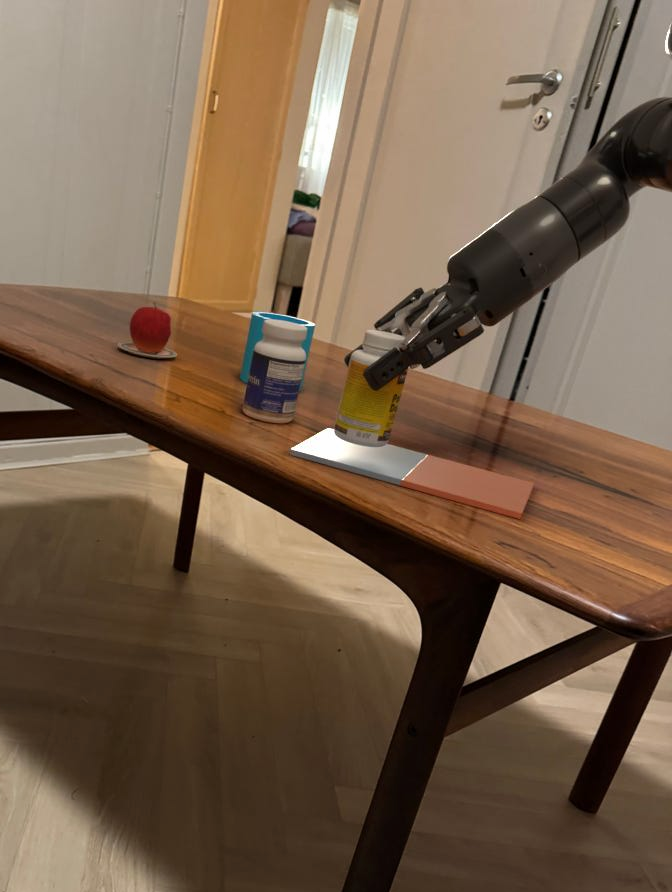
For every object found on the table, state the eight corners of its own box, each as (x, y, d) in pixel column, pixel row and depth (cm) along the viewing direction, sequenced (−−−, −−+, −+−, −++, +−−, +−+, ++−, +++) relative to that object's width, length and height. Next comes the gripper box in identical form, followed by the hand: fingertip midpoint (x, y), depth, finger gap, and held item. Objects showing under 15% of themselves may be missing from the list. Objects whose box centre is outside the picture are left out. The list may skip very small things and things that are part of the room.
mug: (281, 394, 113) (295, 326, 109) (227, 377, 116) (239, 311, 113) (325, 387, 122) (340, 325, 118) (275, 372, 126) (287, 311, 122)
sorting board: (532, 488, 91) (534, 483, 91) (520, 519, 80) (522, 513, 80) (326, 433, 98) (328, 427, 97) (289, 454, 87) (290, 448, 86)
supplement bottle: (387, 453, 87) (417, 343, 82) (330, 440, 87) (356, 331, 83) (387, 440, 92) (414, 336, 87) (333, 428, 92) (358, 325, 88)
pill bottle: (237, 407, 102) (255, 315, 97) (286, 414, 103) (306, 323, 98) (245, 420, 97) (264, 323, 92) (297, 427, 98) (318, 332, 93)
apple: (150, 347, 127) (157, 298, 124) (188, 361, 122) (196, 311, 119) (105, 346, 122) (111, 295, 119) (143, 360, 117) (150, 308, 114)
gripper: (463, 221, 88) (318, 329, 91) (531, 232, 75) (361, 358, 78) (495, 287, 91) (355, 389, 94) (566, 308, 79) (401, 426, 82)
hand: (358, 374), depth 86 cm, fingers closed on supplement bottle, 5 cm apart
